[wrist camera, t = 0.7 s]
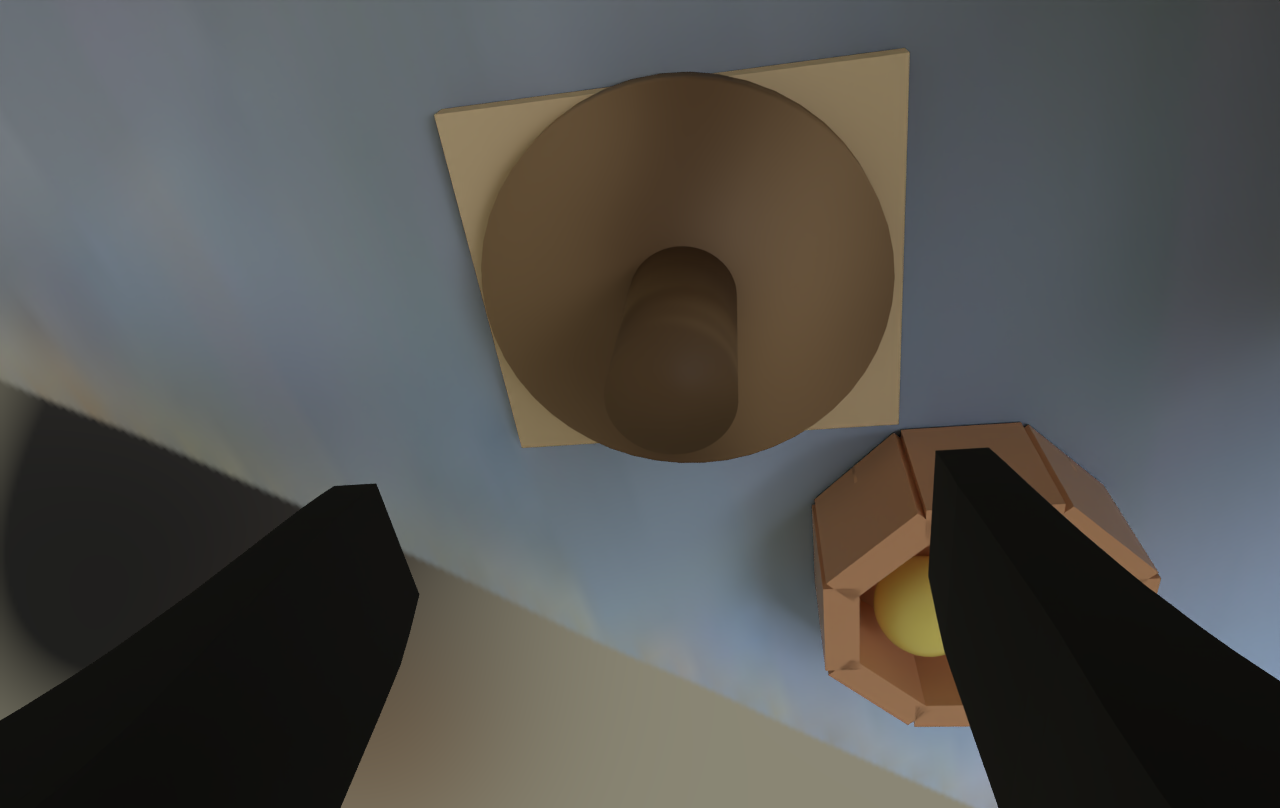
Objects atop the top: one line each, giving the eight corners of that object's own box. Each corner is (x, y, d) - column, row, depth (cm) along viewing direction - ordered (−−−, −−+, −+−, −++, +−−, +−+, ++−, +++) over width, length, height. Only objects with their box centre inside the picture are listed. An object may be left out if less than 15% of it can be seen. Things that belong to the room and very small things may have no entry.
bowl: (1120, 416, 19) (1181, 498, 16) (1077, 630, 22) (1122, 725, 20) (809, 435, 20) (820, 515, 17) (816, 636, 23) (827, 727, 21)
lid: (892, 42, 14) (955, 98, 10) (885, 431, 19) (927, 578, 15) (445, 102, 16) (347, 173, 12) (535, 453, 20) (486, 594, 16)
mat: (904, 47, 15) (909, 52, 14) (894, 412, 19) (898, 424, 19) (441, 109, 16) (434, 114, 16) (526, 436, 20) (521, 448, 20)
